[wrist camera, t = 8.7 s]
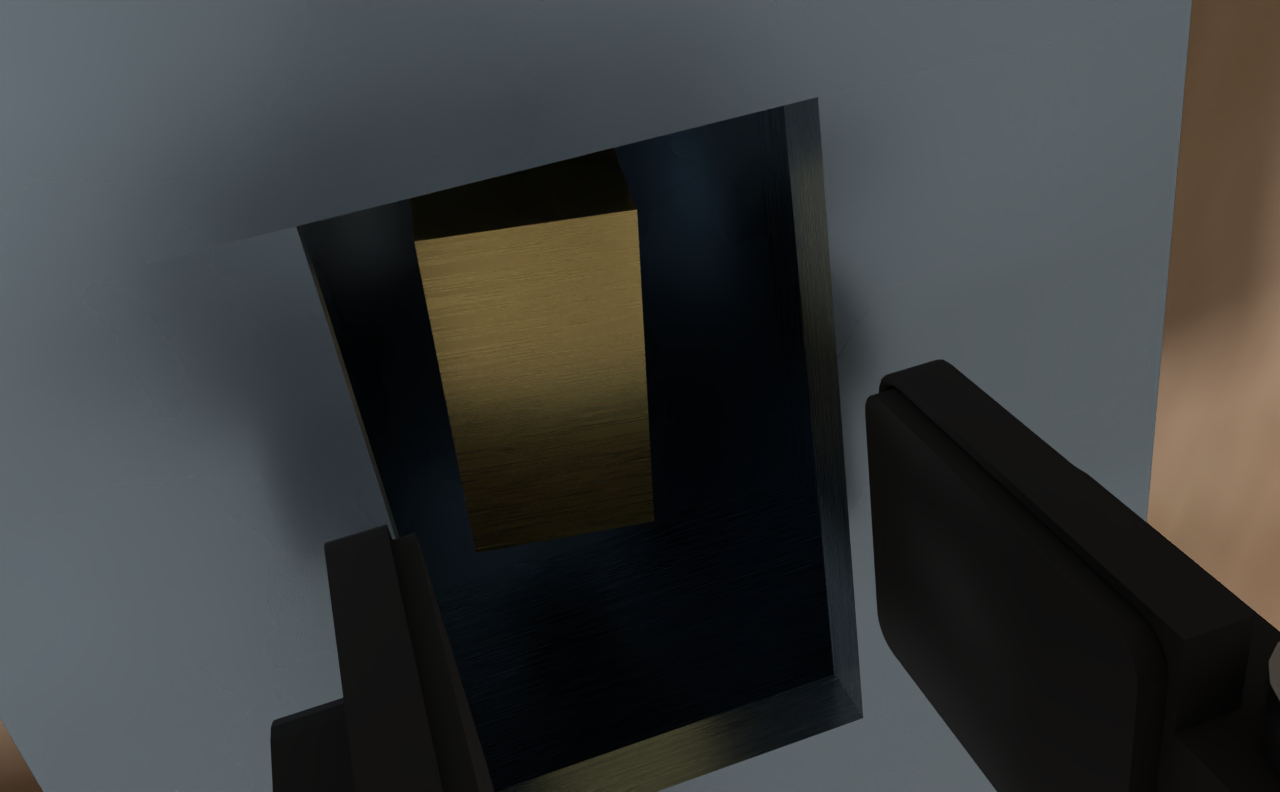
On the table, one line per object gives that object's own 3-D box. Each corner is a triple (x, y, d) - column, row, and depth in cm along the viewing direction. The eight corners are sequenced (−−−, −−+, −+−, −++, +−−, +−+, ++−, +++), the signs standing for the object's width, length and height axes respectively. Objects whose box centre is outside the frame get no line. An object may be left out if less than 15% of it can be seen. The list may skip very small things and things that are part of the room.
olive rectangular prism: (570, 37, 17) (594, 317, 20) (396, 58, 17) (448, 339, 20) (637, 209, 13) (654, 521, 17) (414, 241, 13) (475, 553, 16)
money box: (828, 481, 25) (1130, 840, 17) (254, 662, 23) (273, 1179, 15) (755, -415, 17) (1265, -586, 9) (-142, -272, 15) (-612, -320, 7)
